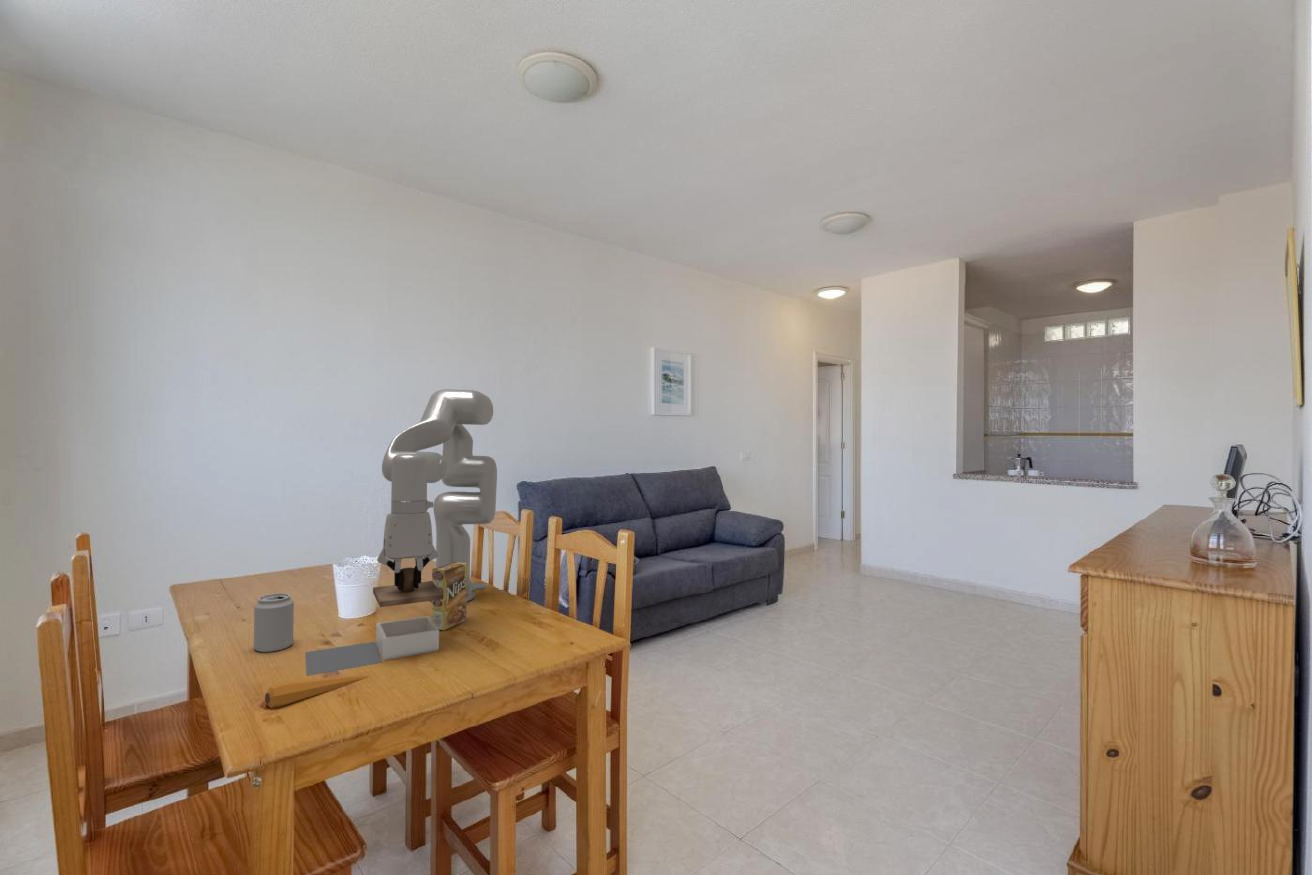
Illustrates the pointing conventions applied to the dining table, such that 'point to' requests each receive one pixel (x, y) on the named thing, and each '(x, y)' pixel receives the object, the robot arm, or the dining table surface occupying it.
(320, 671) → the mat
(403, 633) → the grey storage bin
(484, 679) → the dining table surface
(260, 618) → the can
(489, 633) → the dining table surface
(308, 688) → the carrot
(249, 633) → the dining table surface
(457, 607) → the candy box
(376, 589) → the lid
